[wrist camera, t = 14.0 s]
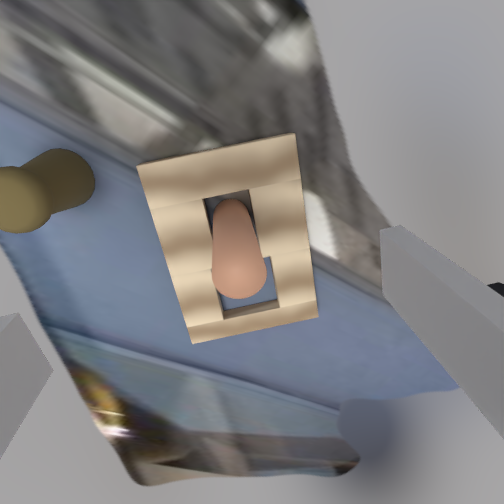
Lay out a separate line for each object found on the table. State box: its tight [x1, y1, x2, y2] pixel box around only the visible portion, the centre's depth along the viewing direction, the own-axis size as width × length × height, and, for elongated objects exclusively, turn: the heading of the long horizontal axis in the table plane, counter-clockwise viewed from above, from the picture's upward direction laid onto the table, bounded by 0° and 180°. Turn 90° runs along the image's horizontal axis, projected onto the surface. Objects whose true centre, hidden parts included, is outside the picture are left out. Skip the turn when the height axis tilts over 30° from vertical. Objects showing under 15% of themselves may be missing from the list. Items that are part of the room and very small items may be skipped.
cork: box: [0, 148, 95, 233], centre depth 30 cm, size 6×6×11 cm
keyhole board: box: [136, 133, 318, 344], centre depth 39 cm, size 22×16×2 cm
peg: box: [212, 199, 267, 299], centre depth 32 cm, size 4×4×15 cm
